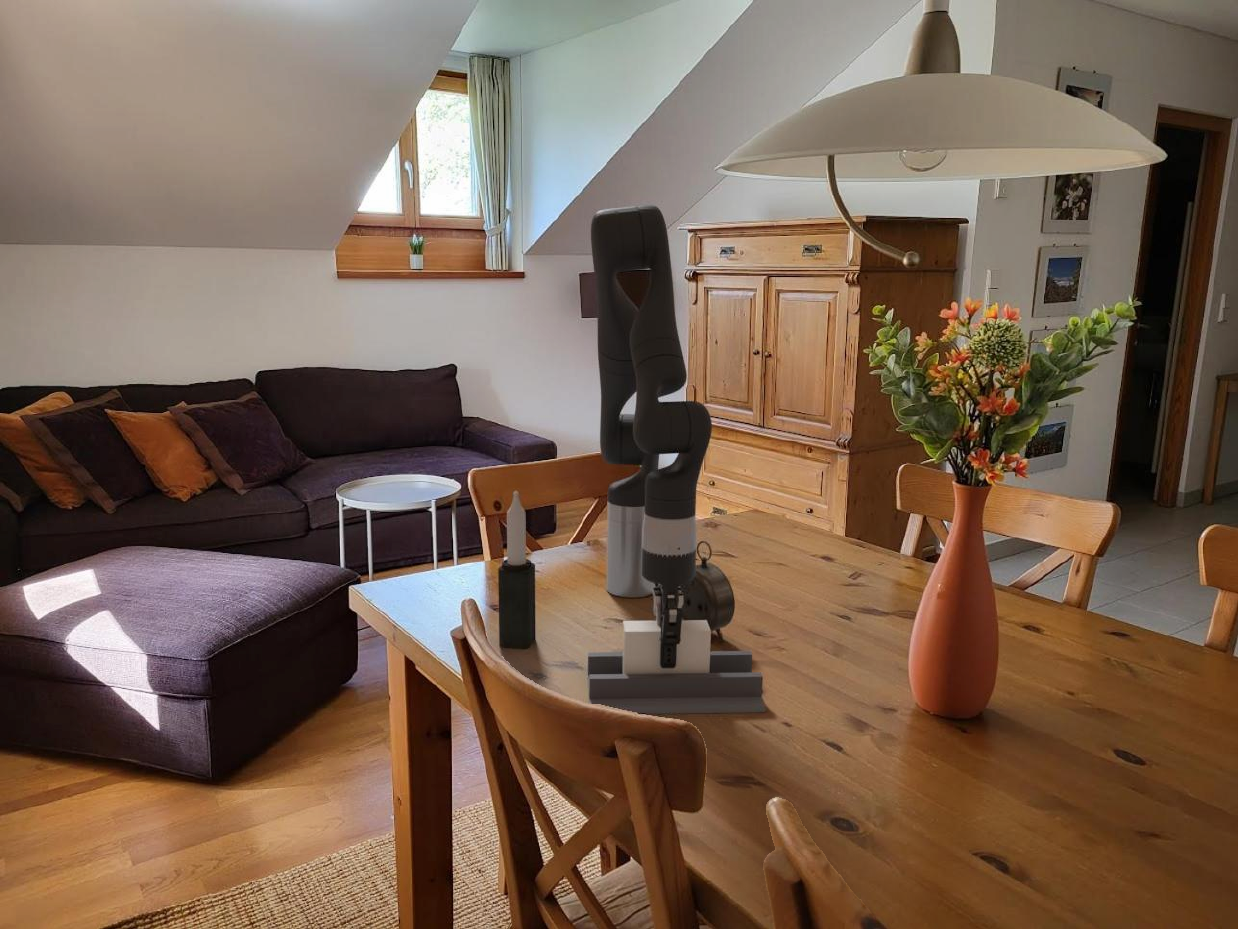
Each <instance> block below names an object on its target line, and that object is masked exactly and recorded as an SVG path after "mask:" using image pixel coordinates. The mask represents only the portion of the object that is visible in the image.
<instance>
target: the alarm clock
mask: <svg viewBox="0 0 1238 929" xmlns="http://www.w3.org/2000/svg"><path fill="white" fill-rule="evenodd" d="M701 544H705V545H706V546H707V547H708V549H709V556H708V557H706V556H704V557H701V554H700V550H699V547H700V545H701ZM712 554H713V550H712V547H711V544H710V543H708V541H705V540H701V541H699V542H698V544H696V555H697V556H698V557H699V559H700V561H701V563H698V564H696V571H695V577H694V579H693V580H691V581H690V582H687V583H683V584H681V585H679V586H678V587H681V593H683V605H682V611H683V615H682V620H707V622H708V625H709V627H710V630H711V632H714V631H715V632H716V634H717V636H718V638H719V639H720V643H725V639H724V637H723V633H722V631H721V629H723V628H725V627H727V626H728V625H729V624H730V623H731V621H732V620H733V617H734V614H735V608H736V606H735V605H736V602H735V595H734V590H733V587H732V584H731V582H730V581H729V579H728V577H727V576H726V574H725V572H724V571H723V570H722V569H721V568H719V566H717V565H715V564H713V563H711V562H708V561H709V560H710V559H711V557H712Z"/></svg>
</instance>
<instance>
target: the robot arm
mask: <svg viewBox="0 0 1238 929" xmlns="http://www.w3.org/2000/svg"><path fill="white" fill-rule="evenodd" d="M590 242H591V254H592V265H593V273H594V281H595V292H596V303H597V306H596V307H597V311H596V312H597V313H596V314H597V360H598V371H599V382H600V425H599V426H600V427H599V428H600V429H599V430H600V431H599V445H600V446H599V447H600V453H601V455H602V456H601V457H602V459H603V461H605V462H606V463H607V464H609V465H617V466H621V465H622V466H641V468H640V469H639V470H638V471H637V472H636V473H635V474H632V475H631V476H628V477H626V478H623V479H620V480H617V481H614V482H612V483H611V484H610V485H609V486H608V488H607V518H606V519H607V525H606V526H607V528H606V534H607V536H606V591H607V592H608V593H609V594H611V595H614V596H616V597H621V598H643V597H647V596H650V595H652V599H653V608H652V609H653V617H654V620H655V621H656V623H657V625H658V626H659V627H660V637H659V641H660V666H661V667H662V668H675V667H676V651H677V644H680V641H681V638H680V635H681V624H682V620H683V618H682V615H683V611H682V605H683V593H681V587H678V586H679V585H681V584H683V583H687V582H690V581H691V580H693V579H694V577H695V571H696V565H697V563H696V562H697V537H698V536H697V533H698V529H697V527H698V526H697V520H696V519H697V518H696V515H697V514H696V513H697V512H696V511H697V509H696V506H697V505H696V504H697V486H698V481H699V478H700V473H701V469H702V467H703V462H704V459H705V456H706V453H707V450H708V447H709V444H710V440H711V437H712V432H713V425H712V423H713V422H712V418H711V414H710V412H709V410H708V409H707V406H705V405H704V404H703V403H702V402H699V401H695V400H682V401H681V400H680V401H679V400H678V401H675V400H674V401H660V400H659V398H661V397H664V396H668V395H671V394H674V393H676V392H679V391H680V390H681V389H682V388H683V387H684V386H685V385H686V383H687V380H688V378H687V377H688V376H687V369H686V364H685V360H684V355H683V349H682V346H681V342H680V338H679V330H678V325H677V320H676V318H677V317H676V308H675V293H674V292H675V291H674V280H673V270H672V261H671V252H670V244H669V242H670V241H669V236H668V230H667V225H666V221H665V218H664V215H663V213H662V211H661V209H660V208H659V207H657V206H656V205H652V204H650V205H649V204H648V205H634V206H624V207H616V208H614V207H613V208H606V209H601V210H598V211H596V212H595V214H594V215H593V216H592V219H591V224H590ZM648 269H649V272H650V280H649V284H648V287H647V291H646V294H645V297H644V299H643V300H642V302H641V304H640V307H639V308H638V307H637V306H636V305H635V303H634V302H633V301H632V300H631V299H630V298H629V297H628V295H627V294H626V293H625V291H624V290H623V288H622V286H621V284H620V283H619V280H618V279H617V273H621V272H630V271H631V272H632V271H639V270H640V271H641V270H648ZM634 394H636V395H635V398H636V399H635V407H634V408H635V409H634V414H633V413H631V414H630V413H622V410H623V409H624V408H625V407H624V406H625V405H626V404H627V403H628V402H629V400H630V399H631V398H632V397H633V396H634ZM671 454H672V455H673V454H677V455H676V458H675V459H674V461H673V462H672V463H671V464H669V465H667V466H664V467H661V468H659V465H660V464H659V461H660V455H671ZM667 632H674V635H666V633H667Z"/></svg>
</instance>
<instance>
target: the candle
mask: <svg viewBox="0 0 1238 929" xmlns="http://www.w3.org/2000/svg"><path fill="white" fill-rule="evenodd" d="M519 493H520V492H518V491H517V490H515V491H514V492H513V493H512V494H513V497H512V502H511V504H510V506H509V509H507V512H506V547H507V548H506V549H507V551H506V552H507V553H506V555H507V558H506V559H504V560H503V561H502V562H501V565H500V566H499V567H498V569H497V570H498V571H497V572H498V573H497V575H498V578H497V579H498V580H497V581H498V586H497V587H498V641H499V642H498V643H499V646H500V647H501V648H507V649H508V648H509V649H518V650H526V649H529V648H531V645H532V643H533V642H534V641H536V564H535V563H534V562H532V561H531V560H530V559H527V543H526V542H527V538H526V536H527V535H526V534H527V532H526V531H527V529H526V528H527V527H526V525H527V523H526V522H527V519H526V511H525V509H524V508H523V506H522V503H521V501H520V497H519V496H520V495H519Z"/></svg>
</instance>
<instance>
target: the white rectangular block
mask: <svg viewBox="0 0 1238 929" xmlns="http://www.w3.org/2000/svg"><path fill="white" fill-rule="evenodd" d="M666 635H674V632H667V633H666ZM711 636H712V631H711V630H710V627H709V625H708V622H707V620H683V619H682V624H681V635H680V638H681V641H680V644H677V651H676V667H675V668H662V667H661V666H660V641H659V637H660V627H659V626H658V625H657V623H656V620H623V621H622V652H623V667H622V674H671V673H709V669H710V651H711Z"/></svg>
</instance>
